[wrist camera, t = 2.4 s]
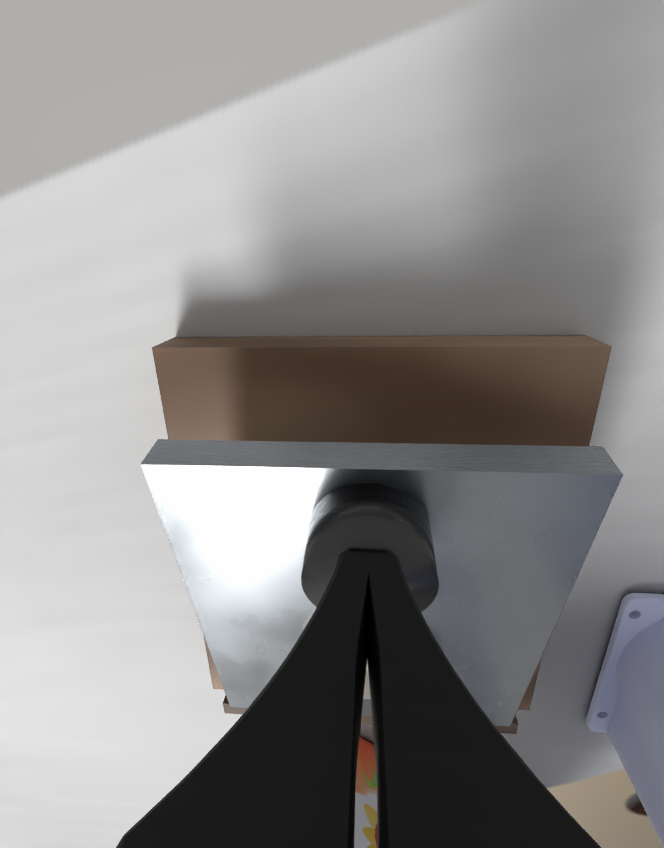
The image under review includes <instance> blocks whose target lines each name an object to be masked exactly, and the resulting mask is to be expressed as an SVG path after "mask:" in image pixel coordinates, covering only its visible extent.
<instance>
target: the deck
mask: <svg viewBox="0 0 664 848" xmlns="http://www.w3.org/2000/svg"><path fill="white" fill-rule="evenodd" d="M141 467H142V470H143V472H144V475H145V478H146V480H147V483H148V486H149V488H150V491H151V494H152V497H153V499H154V502H155V505H156V507H157V510H158V513H159V515H160V518H161V521H162V524H163V526H164V529H165V532H166V534H167V537H168V540H169V542H170V545H171V548H172V551H173V553H174V556H175V559H176V561H177V564H178V567H179V570H180V572H181V575H182V578H183V580H184V583H185V586H186V588H187V591H188V594H189V597H190V599H191V602H192V605H193V607H194V610H195V613H196V615H197V618H198V621H199V624H200V626H201V629H202V632H203V634H204V637H205V640H206V642H207V645H208V648H209V651H210V653H211V656H212V659H213V661H214V664H215V667H216V669H217V672H218V675H219V678H220V680H221V683H222V686H223V688H224V691H225V694H226V696H227V699H228V702H229V705H230V707H241V708H249V706H250V705H251V704H252V703H253V701H254V700H255V699H256V698H257V696H258V695H259V694H260V693H261V691H262V690H263V689H264V688H265V686H266V685H267V684H268V682H269V681H270V680H271V678H272V677H273V675H274V674H275V673H276V671H277V670H278V669H279V667H280V666H281V664H282V663H283V662H284V660H285V659H286V657H287V656H288V654H289V653H290V651H291V650H292V648H293V647H294V645H295V643H296V642H297V640H298V639H299V637H300V635H301V634H302V632H303V630H304V629H305V627H306V625H307V624H308V622H309V621H310V619H311V617H312V615H313V613H314V612H315V610H316V608H317V606H318V604H319V602H320V600H321V598H322V596H323V594H324V592H325V590H326V588H327V586H328V584H329V582H330V579H331V577H332V575H333V572H334V570H335V567H336V564H337V561H338V558H339V554H341V553H342V552H343V551H357V552H384V553H394V554H395V555H396V556H397V557H398V559H399V563H400V566H401V569H402V572H403V574H404V577H405V579H406V582H407V584H408V586H409V589H410V591H411V593H412V595H413V597H414V599H415V602H416V604H417V606H418V608H419V609H420V611H421V613H422V615H423V617H424V619H425V621H426V623H427V625H428V627H429V628H430V630H431V632H432V634H433V636H434V637H435V639H436V641H437V642H438V644H439V646H440V647H441V649H442V651H443V652H444V654H445V656H446V657H447V659H448V661H449V662H450V664H451V665H452V667H453V668H454V670H455V671H456V673H457V674H458V676H459V678H460V679H461V681H462V682H463V683H464V685H465V686H466V688H467V689H468V691H469V692H470V693H471V695H472V696H473V698H474V699H475V701H476V702H477V703H478V705H479V706H480V707H481V709H482V710H483V711H484V713H485V714H486V715H487V717H488V718H489V719H490V721H491V722H492V723H493V725H497V726H510V725H511V723H512V721H513V718H514V716H515V714H516V712H517V709H518V707H519V705H520V703H521V701H522V698H523V696H524V694H525V692H526V689H527V687H528V685H529V683H530V681H531V678H532V676H533V674H534V672H535V669H536V667H537V665H538V663H539V660H540V658H541V656H542V654H543V652H544V649H545V647H546V645H547V643H548V640H549V638H550V636H551V634H552V632H553V629H554V627H555V625H556V623H557V620H558V618H559V616H560V614H561V612H562V609H563V607H564V605H565V603H566V600H567V598H568V596H569V594H570V591H571V589H572V587H573V585H574V583H575V580H576V578H577V576H578V574H579V571H580V569H581V567H582V565H583V563H584V560H585V558H586V556H587V554H588V551H589V549H590V547H591V545H592V542H593V540H594V538H595V536H596V534H597V531H598V529H599V527H600V525H601V522H602V520H603V518H604V516H605V514H606V511H607V509H608V507H609V505H610V502H611V500H612V498H613V496H614V493H615V491H616V489H617V487H618V485H619V482H620V480H621V478H622V476H623V474H622V473H621V471H620V470H619V469H618V467H617V466H616V465H615V463H614V462H613V460H612V459H611V458H610V456H609V455H608V454H607V452H606V451H605V449H604V448H603V447H596V446H534V445H473V444H411V443H350V442H288V441H227V440H165V439H158V440H157V441H156V443H155V444H154V446H153V447H152V449H151V450H150V452H149V453H148V454H147V456H146V457H145V459H144V460H143V462H142V463H141ZM362 716H369V717H372V709H371V697H370V685H369V673H368V660H367V666H366V676H365V687H364V697H363V707H362Z"/></svg>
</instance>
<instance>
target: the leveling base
mask: <svg viewBox="0 0 664 848" xmlns="http://www.w3.org/2000/svg"><path fill="white" fill-rule="evenodd" d="M152 350H153V356H154V361H155V367H156V373H157V378H158V384H159V389H160V395H161V400H162V406H163V412H164V417H165V423H166V428H167V434H168V439H169V440H227V441H288V442H350V443H411V444H473V445H534V446H589V444H590V439H591V435H592V430H593V426H594V421H595V417H596V413H597V408H598V404H599V399H600V395H601V390H602V386H603V382H604V377H605V373H606V368H607V364H608V359H609V355H610V351H611V346H609V345H607V344H604V343H602V342H599V341H597V340H594V339H592V338H590V337H587V336H585V335H535V336H324V337H174V338H172V339H170V340H168V341H166V342H163V343H161V344H159V345H157V346H154V347H152ZM203 635H204V634H203ZM204 640H205V637H204ZM205 646H206V651H207V657H208V662H209V668H210V674H211V679H212V685H213V689H224V688H223V686H222V683H221V680H220V678H219V675H218V672H217V669H216V667H215V664H214V661H213V659H212V656H211V653H210V651H209V648H208V645H207V642H206V640H205ZM540 661H541V658H540V660H539V663H538V665H537V667H536V669H535V672H534V674H533V676H532V678H531V681H530V683H529V685H528V687H527V689H526V692H525V694H524V696H523V698H522V701H521V703H520V705H519V707H518V709H524V710H529V709H530V705H531V700H532V696H533V692H534V687H535V683H536V678H537V674H538V669H539V665H540ZM223 706H224V712H225V713H233V714H244V712H245V711H246V710H247V709H248V708H241V707H230V705H229V702H228V699H227V696H225V699H224V702H223ZM361 723H372V724H373V722H372V717H369V716H362V717H361ZM494 726H495V727H496V729H497V730H498V731H499V732H500V733H512V734H516V731H517V727H518V722H517V719H516V715H515V716H514V718H513V721H512V723H511V725H510V726H497V725H494Z"/></svg>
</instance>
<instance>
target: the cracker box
mask: <svg viewBox="0 0 664 848" xmlns="http://www.w3.org/2000/svg"><path fill="white" fill-rule="evenodd" d="M354 848H378V841H377V776H376V758H375V746H374V745H373V744H371V743H370V742H368V741H366V740H364V739H362V738H361V737H359V747H358V758H357V772H356V791H355V832H354Z"/></svg>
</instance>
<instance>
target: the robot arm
mask: <svg viewBox="0 0 664 848" xmlns="http://www.w3.org/2000/svg"><path fill="white" fill-rule="evenodd" d="M632 611H633V612H632ZM630 612H631V613H630ZM367 660H368V673H369V685H370V697H371V709H372V722H373V734H374V746H375V758H376V776H377V841H378V848H601V847H600V846H599V845H598V844H597V843H596V842H595V841H594V840H593V839H592V837H591V836H590V835H589V834H588V833H587V832H586V831H585V830H584V829H583V828H582V827H581V826H580V825H579V824H578V823H577V822H576V821H575V819H574V818H573V817H572V816H571V815H570V814H569V813H568V812H567V811H566V810H565V808H564V807H563V806H562V805H561V804H560V803H559V802H558V801H557V800H556V798H555V797H554V796H553V795H552V794H551V793H550V792H549V791H548V790H547V788H546V787H545V786H544V785H543V784H542V783H541V782H540V781H539V780H538V778H537V777H536V776H535V775H534V773H533V772H532V771H531V770H530V769H529V767H528V766H527V765H526V764H525V763H524V761H523V760H522V759H521V758H520V757H519V755H518V754H517V753H516V752H515V750H514V749H513V748H512V747H511V746H510V744H509V743H508V742H507V741H506V740H505V738H504V737H503V736H502V735H501V734H500V732H499V731H498V730H497V729H496V727H495V726H494V725H493V723H492V722H491V721H490V719H489V718H488V717H487V715H486V714H485V713H484V711H483V710H482V709H481V707H480V706H479V705H478V703H477V702H476V701H475V699H474V698H473V696H472V695H471V693H470V692H469V691H468V689H467V688H466V686H465V685H464V683H463V682H462V681H461V679H460V678H459V676H458V674H457V673H456V671H455V670H454V668H453V667H452V665H451V664H450V662H449V661H448V659H447V657H446V656H445V654H444V652H443V651H442V649H441V647H440V646H439V644H438V642H437V641H436V639H435V637H434V636H433V634H432V632H431V630H430V628H429V627H428V625H427V623H426V621H425V619H424V617H423V615H422V613H421V611H420V609H419V608H418V606H417V604H416V602H415V599H414V597H413V595H412V593H411V591H410V589H409V586H408V584H407V582H406V579H405V577H404V574H403V572H402V569H401V566H400V563H399V559H398V557H397V556H396V555H395V554H394V553H384V552H357V551H343V552H342V553H341V554H339V558H338V561H337V564H336V567H335V570H334V572H333V575H332V577H331V579H330V582H329V584H328V586H327V588H326V590H325V592H324V594H323V596H322V598H321V600H320V602H319V604H318V606H317V608H316V610H315V612H314V613H313V615H312V617H311V619H310V621H309V622H308V624H307V625H306V627H305V629H304V630H303V632H302V634H301V635H300V637H299V639H298V640H297V642H296V643H295V645H294V647H293V648H292V650H291V651H290V653H289V654H288V656H287V657H286V659H285V660H284V662H283V663H282V664H281V666H280V667H279V669H278V670H277V671H276V673H275V674H274V675H273V677H272V678H271V680H270V681H269V682H268V684H267V685H266V686H265V688H264V689H263V690H262V691H261V693H260V694H259V695H258V696H257V698H256V699H255V700H254V701H253V703H252V704H251V705H250V706H249V708H248V709H247V710H246V711H245V712H244V714H243V715H242V716H241V717H240V718H239V720H238V721H237V722H236V723H235V724H234V725H233V727H232V728H231V729H230V730H229V731H228V732H227V733H226V734H225V735H224V736H223V737H222V739H221V740H220V741H219V742H218V743H217V744H216V745H215V746H214V747H213V748H212V749H211V750H210V751H209V752H208V754H207V755H206V756H205V757H204V758H203V759H202V760H201V761H200V762H199V763H198V764H197V765H196V766H195V767H194V769H193V770H192V771H191V772H190V773H189V774H188V775H187V776H186V777H185V778H184V779H183V780H182V781H181V782H180V783H179V784H178V785H177V786H175V787H174V788H173V789H172V790H171V791H170V792H169V793H168V794H167V795H166V796H165V797H164V798H163V799H162V800H161V801H160V802H159V803H157V804H156V805H155V806H154V807H153V808H152V809H151V810H150V811H149V812H148V813H147V814H146V815H145V816H144V817H143V818H142V819H141V820H139V821H138V822H137V823H136V824H135V825H134V826H133V827H132V828H131V829H130V830H129V831H128V832H127V833H126V834H125V835H124V836H123V837H122V839H121V841H120V842H119V844H118V845H117V847H116V848H354V832H355V791H356V772H357V758H358V747H359V737H360V727H361V717H362V707H363V697H364V687H365V676H366V666H367ZM586 724H587V727H588V729H589V730H590V731H592V732H594V733H604V734H608V735H609V737H610V739H611V741H612V743H613V745H614V747H615V749H616V751H617V753H618V756H619V758H620V760H621V762H622V764H623V766H624V768H625V770H626V772H627V774H628V776H629V778H630V780H631V782H632V784H633V786H634V788H635V790H636V792H637V794H638V796H639V799H640V801H641V803H642V805H643V807H644V809H645V811H646V813H647V815H648V817H649V819H650V821H651V823H652V825H653V827H654V829H655V831H656V833H657V835H658V837H659V840H660V842H661V844H662V846H663V848H664V594H648V593H631V594H628V595H626V596H625V597H624V598H623V600H622V602H621V605H620V609H619V612H618V615H617V619H616V622H615V625H614V628H613V632H612V635H611V638H610V642H609V645H608V648H607V652H606V655H605V658H604V661H603V665H602V668H601V671H600V675H599V678H598V681H597V685H596V688H595V691H594V694H593V698H592V701H591V704H590V708H589V711H588V714H587V718H586Z"/></svg>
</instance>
